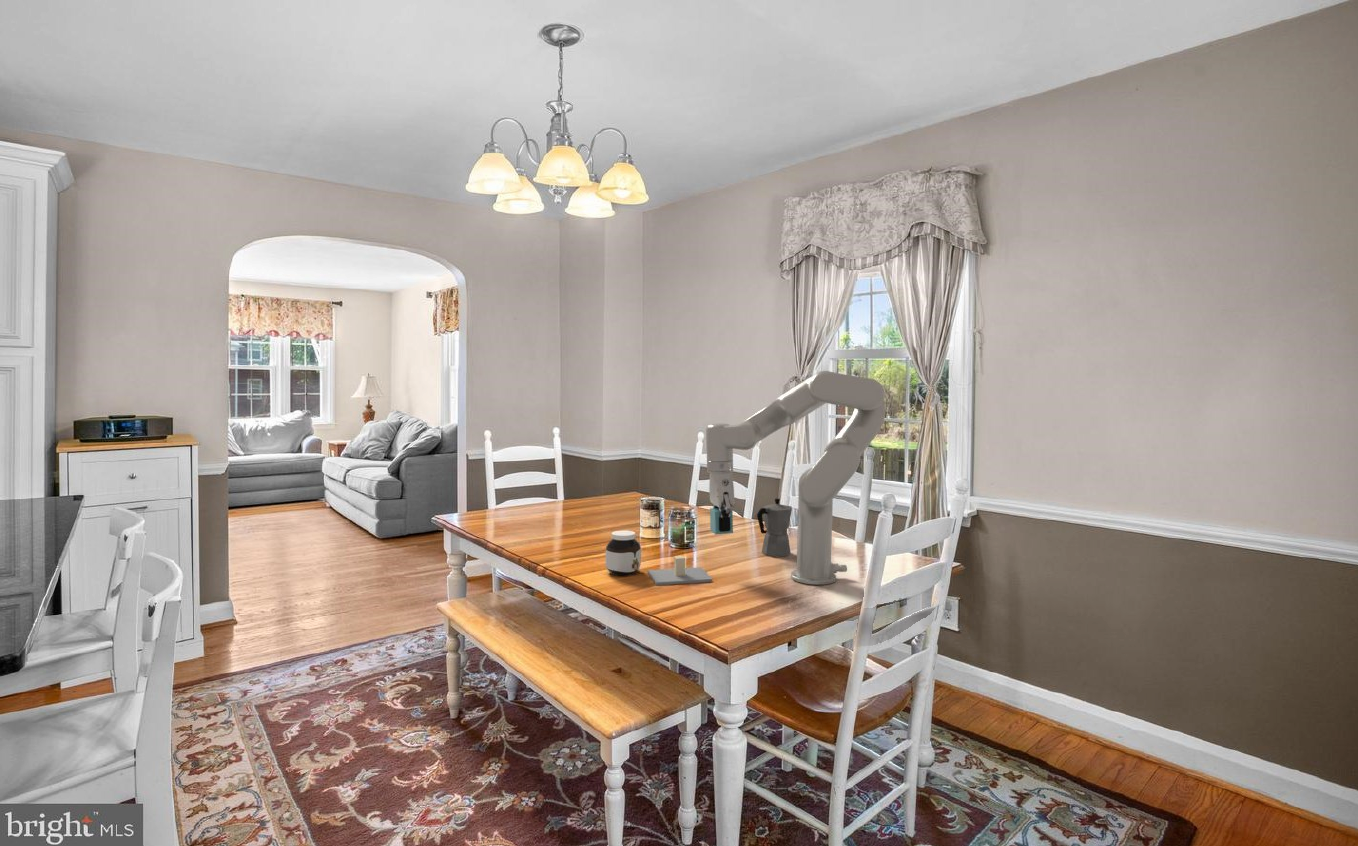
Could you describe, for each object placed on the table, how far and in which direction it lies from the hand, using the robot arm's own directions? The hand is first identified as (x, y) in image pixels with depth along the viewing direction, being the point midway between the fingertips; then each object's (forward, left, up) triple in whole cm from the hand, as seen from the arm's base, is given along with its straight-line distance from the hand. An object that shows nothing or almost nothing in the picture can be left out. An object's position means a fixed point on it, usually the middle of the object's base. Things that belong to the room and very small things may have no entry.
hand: (721, 528), depth 203 cm
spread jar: (+28, -8, -13) cm, 32 cm away
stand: (+13, +2, -13) cm, 18 cm away
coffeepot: (-23, -17, -13) cm, 32 cm away
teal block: (0, 0, -1) cm, 1 cm away
